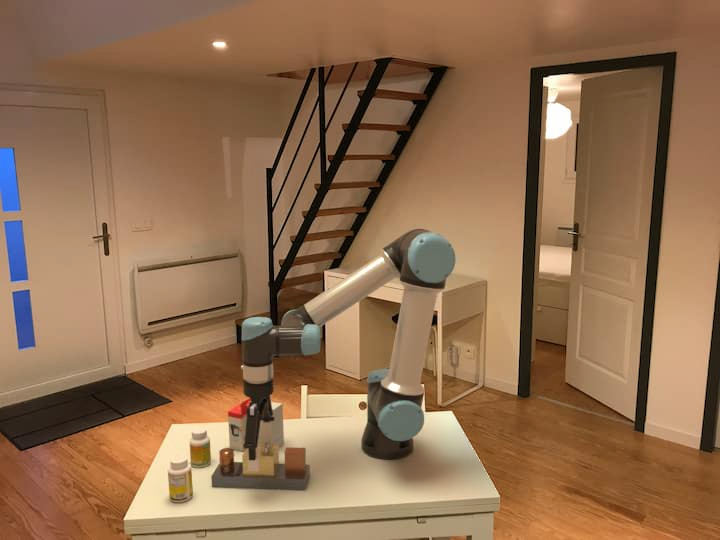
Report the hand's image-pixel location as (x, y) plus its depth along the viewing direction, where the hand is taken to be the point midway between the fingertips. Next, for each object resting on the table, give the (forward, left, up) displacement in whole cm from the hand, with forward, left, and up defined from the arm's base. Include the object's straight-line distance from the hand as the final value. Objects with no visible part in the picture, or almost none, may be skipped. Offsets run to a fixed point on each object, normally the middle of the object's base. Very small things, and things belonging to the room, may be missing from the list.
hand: (260, 457), depth 152 cm
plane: (0, 0, -7) cm, 7 cm away
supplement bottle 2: (+19, -8, -7) cm, 22 cm away
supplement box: (+3, -19, -7) cm, 20 cm away
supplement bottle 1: (+18, +9, -7) cm, 21 cm away
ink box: (+10, -20, -7) cm, 23 cm away
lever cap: (0, 0, -4) cm, 4 cm away
